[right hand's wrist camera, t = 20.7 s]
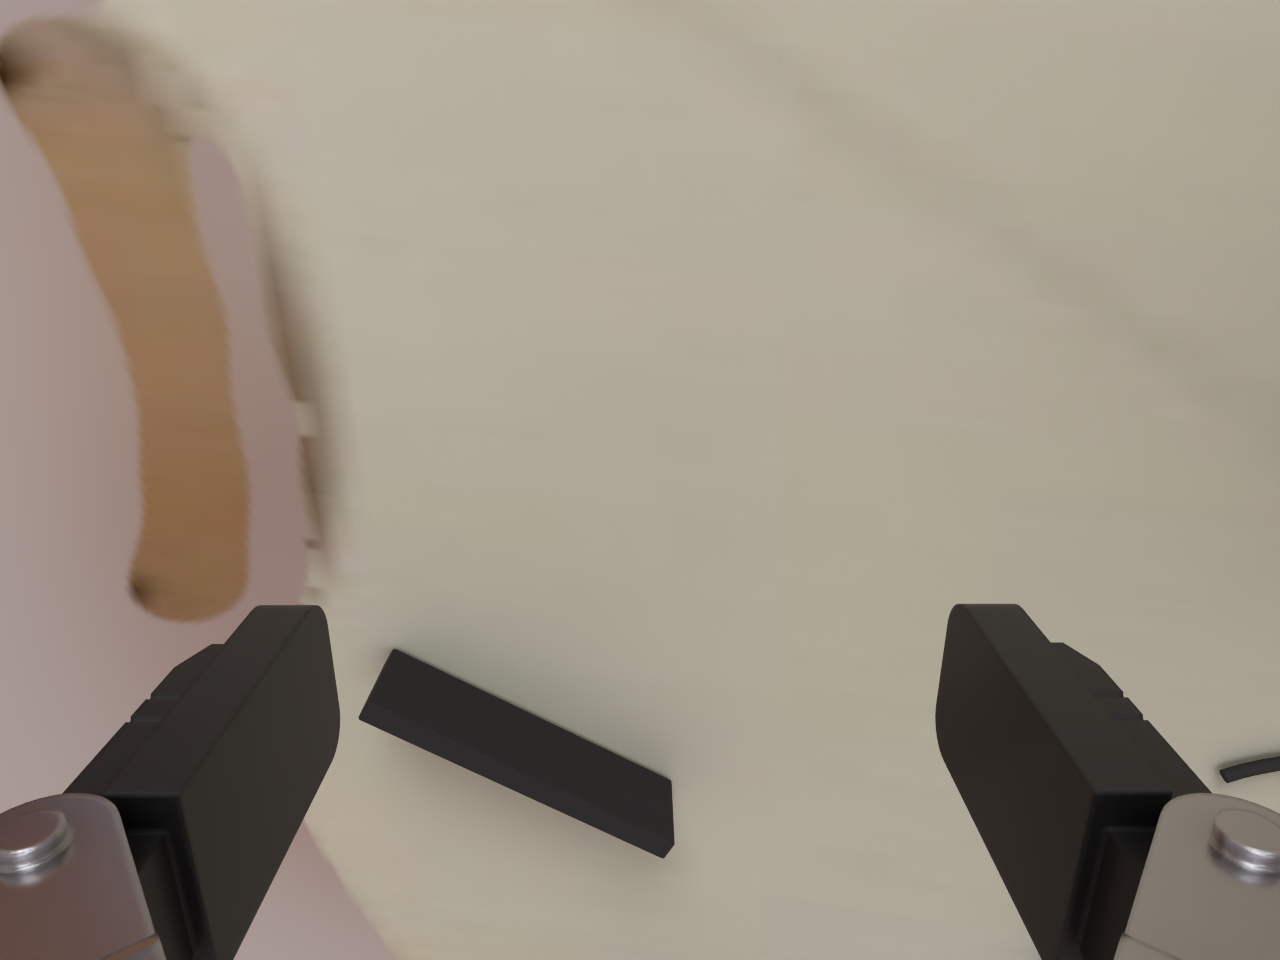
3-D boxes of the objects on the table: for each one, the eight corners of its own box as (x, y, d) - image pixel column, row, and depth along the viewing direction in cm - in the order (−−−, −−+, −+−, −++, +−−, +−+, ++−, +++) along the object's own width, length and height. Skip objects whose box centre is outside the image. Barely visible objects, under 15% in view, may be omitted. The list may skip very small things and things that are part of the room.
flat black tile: (384, 665, 48) (356, 721, 44) (393, 647, 48) (367, 701, 43) (660, 796, 51) (662, 861, 47) (672, 780, 51) (675, 844, 46)
